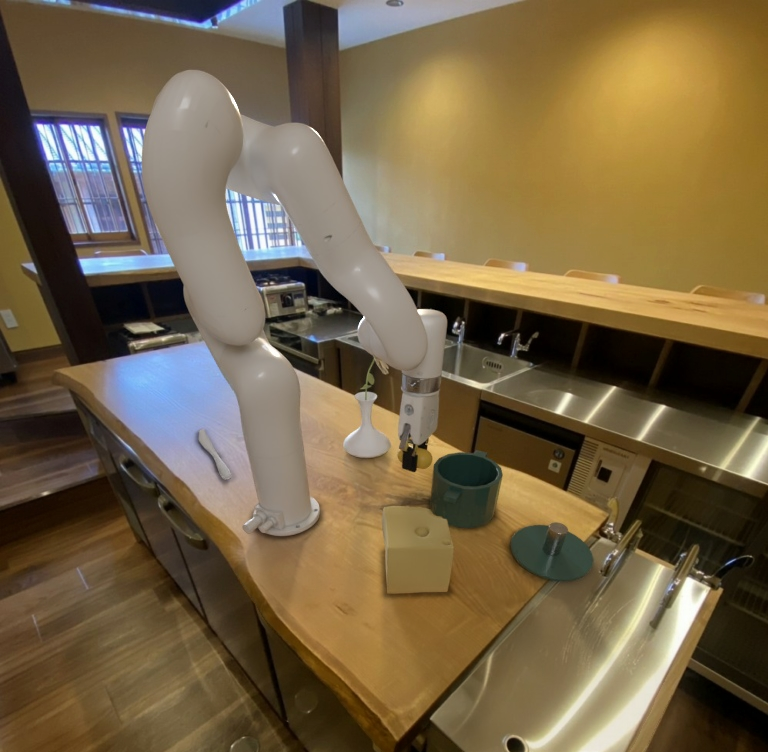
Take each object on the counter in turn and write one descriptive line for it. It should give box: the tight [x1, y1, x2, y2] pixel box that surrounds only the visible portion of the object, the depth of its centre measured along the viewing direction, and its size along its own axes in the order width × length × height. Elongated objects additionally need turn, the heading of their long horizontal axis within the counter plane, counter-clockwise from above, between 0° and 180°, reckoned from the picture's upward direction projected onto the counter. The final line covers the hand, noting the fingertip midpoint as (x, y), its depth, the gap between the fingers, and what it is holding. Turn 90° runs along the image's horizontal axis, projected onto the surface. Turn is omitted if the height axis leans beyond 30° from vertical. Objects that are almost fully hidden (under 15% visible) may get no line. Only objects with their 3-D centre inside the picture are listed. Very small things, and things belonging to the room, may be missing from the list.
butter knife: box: [198, 428, 232, 480], centre depth 100 cm, size 1×27×3 cm
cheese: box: [381, 505, 455, 595], centre depth 67 cm, size 10×11×10 cm
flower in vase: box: [342, 355, 392, 459], centre depth 95 cm, size 13×11×25 cm
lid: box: [509, 522, 594, 582], centre depth 72 cm, size 14×14×6 cm
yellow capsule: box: [396, 444, 433, 470], centre depth 90 cm, size 8×4×4 cm, turn 62°
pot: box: [429, 450, 504, 529], centre depth 82 cm, size 13×18×9 cm
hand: (414, 463), depth 91 cm, fingers closed on yellow capsule, 4 cm apart
